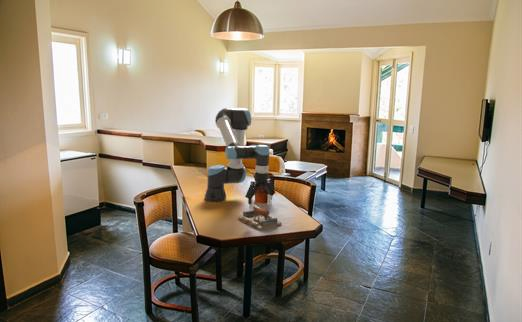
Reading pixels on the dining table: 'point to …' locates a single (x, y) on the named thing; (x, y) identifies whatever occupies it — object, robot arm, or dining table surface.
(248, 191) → the robot arm
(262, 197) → the vessel
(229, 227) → the dining table surface
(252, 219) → the chassis bay
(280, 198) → the dining table surface
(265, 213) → the bull figurine
